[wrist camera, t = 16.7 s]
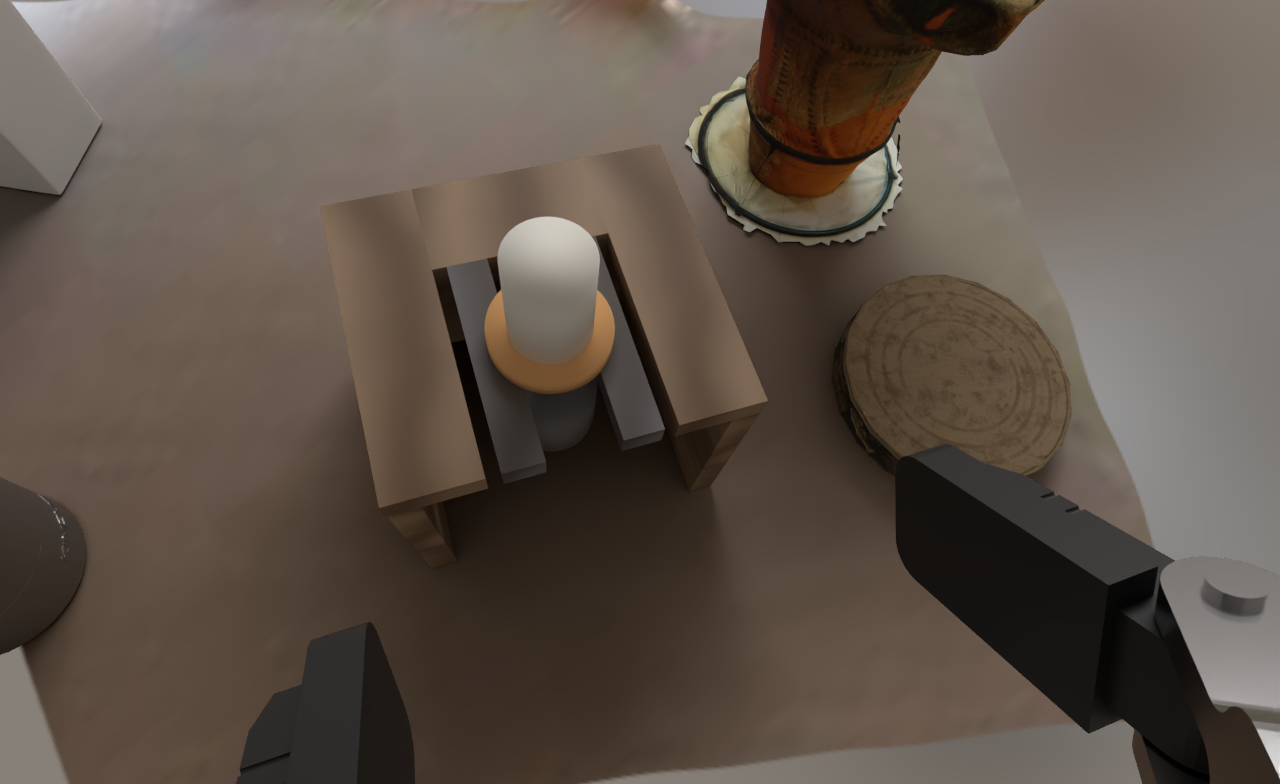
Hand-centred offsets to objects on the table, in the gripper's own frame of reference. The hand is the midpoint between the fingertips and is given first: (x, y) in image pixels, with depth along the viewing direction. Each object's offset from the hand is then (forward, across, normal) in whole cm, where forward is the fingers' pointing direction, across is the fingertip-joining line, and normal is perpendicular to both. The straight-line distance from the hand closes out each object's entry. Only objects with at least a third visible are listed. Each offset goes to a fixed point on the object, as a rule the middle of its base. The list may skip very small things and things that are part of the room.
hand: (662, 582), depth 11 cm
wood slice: (+32, -30, +17) cm, 47 cm away
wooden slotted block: (+36, -2, +12) cm, 38 cm away
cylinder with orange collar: (+31, -2, +10) cm, 33 cm away
